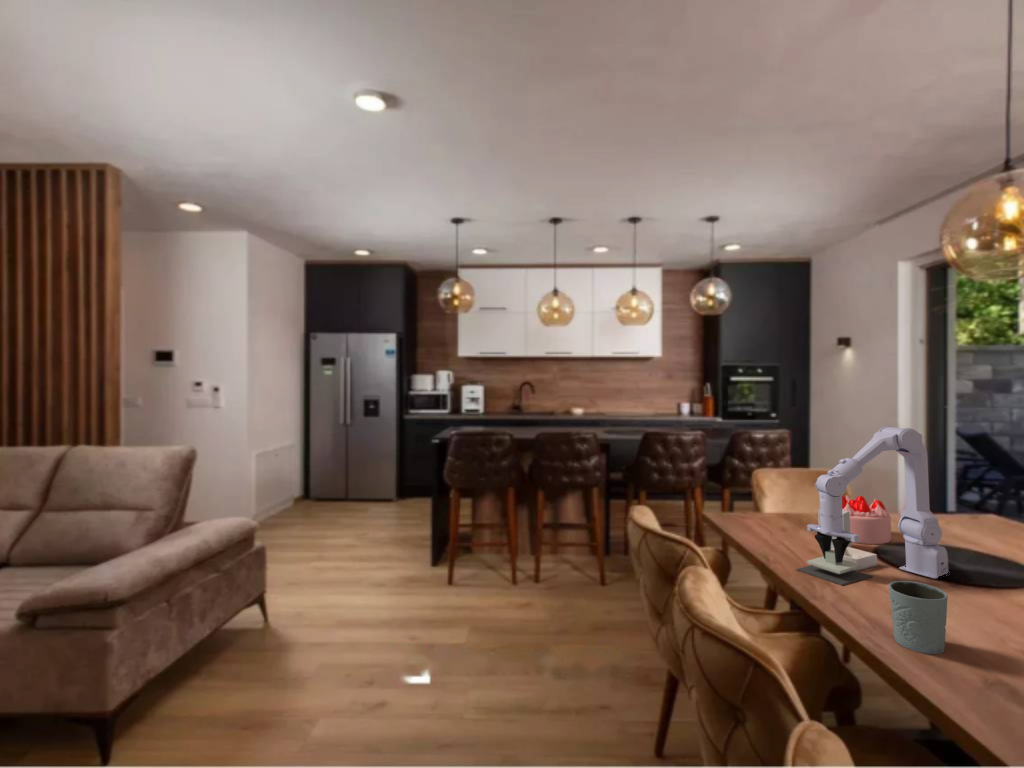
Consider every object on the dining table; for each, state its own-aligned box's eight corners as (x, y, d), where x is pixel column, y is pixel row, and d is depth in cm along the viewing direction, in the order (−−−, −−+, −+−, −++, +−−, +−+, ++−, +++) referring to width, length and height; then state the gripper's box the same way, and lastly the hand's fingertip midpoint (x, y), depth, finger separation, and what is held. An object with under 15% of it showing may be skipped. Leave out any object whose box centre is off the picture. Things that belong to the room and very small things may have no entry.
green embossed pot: (922, 632, 114) (920, 579, 114) (963, 655, 104) (961, 597, 104) (879, 634, 114) (876, 581, 114) (916, 658, 104) (914, 600, 104)
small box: (851, 548, 173) (850, 511, 174) (845, 552, 169) (843, 514, 170) (825, 543, 180) (824, 507, 180) (818, 547, 176) (817, 510, 176)
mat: (872, 576, 147) (872, 575, 147) (842, 585, 142) (842, 584, 142) (826, 562, 160) (825, 561, 160) (796, 570, 154) (796, 568, 154)
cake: (850, 527, 199) (849, 491, 199) (905, 540, 180) (903, 501, 181) (815, 533, 192) (814, 496, 192) (868, 548, 173) (867, 507, 174)
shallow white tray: (877, 565, 156) (876, 554, 157) (857, 571, 152) (856, 559, 152) (844, 556, 166) (844, 545, 166) (824, 561, 161) (824, 550, 162)
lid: (861, 569, 149) (860, 553, 149) (840, 576, 144) (839, 559, 144) (828, 560, 158) (827, 544, 158) (807, 565, 154) (806, 550, 154)
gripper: (800, 511, 156) (801, 555, 156) (847, 522, 143) (849, 569, 143) (814, 509, 159) (816, 551, 159) (862, 519, 146) (864, 565, 146)
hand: (833, 560), depth 151 cm, fingers closed on lid, 3 cm apart
